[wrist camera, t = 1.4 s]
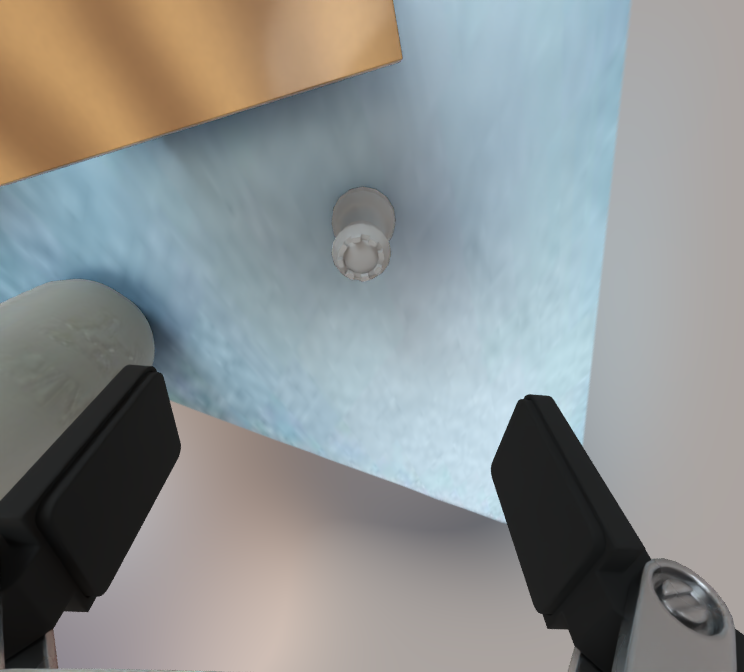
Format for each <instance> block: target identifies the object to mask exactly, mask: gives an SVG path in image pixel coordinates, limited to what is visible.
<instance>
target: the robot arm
mask: <svg viewBox="0 0 744 672" xmlns="http://www.w3.org/2000/svg"><path fill="white" fill-rule="evenodd" d="M180 450H181V443H180V439H179V435H178V431H177V428H176V424H175V420H174V416H173V412H172V408H171V404H170V400H169V396H168V393H167V389H166V385H165V381H164V377H163V375H162V374H161V373H159V372H157V370H156V369H155V368H154V367H153V366H143V365H130V364H129V365H126V366H125V367H124V368H123V369H122V370H121V371H120V372H119V373H118V374H117V375H116V376H115V377H114V378H113V379H112V380H111V381H110V383H109V384H108V385H107V386H106V387H105V388H104V389H103V390H102V391H101V392H100V393H99V394H98V396H97V397H96V398H95V399H94V400H93V401H92V402H91V403H90V404H89V405H88V406H87V407H86V409H85V410H84V411H83V412H82V413H81V414H80V415H79V416H78V417H77V418H76V419H75V420H74V422H73V423H72V424H71V425H70V426H69V427H68V428H67V429H66V430H65V431H64V432H63V433H62V434H61V436H60V437H59V438H58V439H57V440H56V441H55V442H54V443H53V444H52V445H51V446H50V447H49V449H48V450H47V451H46V452H45V453H44V454H43V455H42V456H41V457H40V458H39V459H38V460H37V462H36V463H35V464H34V465H33V466H32V467H31V468H30V469H29V470H28V471H27V472H26V473H25V475H24V476H23V477H22V478H21V479H20V480H19V481H18V482H17V483H16V484H15V485H14V486H13V488H12V489H11V490H10V491H9V492H8V493H7V494H6V495H5V496H4V497H3V498H2V499H1V500H0V672H217V671H176V670H172V671H171V670H130V669H58V662H57V655H56V646H55V639H54V631H53V628H54V627H55V625H56V623H57V622H58V620H59V618H60V617H61V615H62V613H63V612H64V611H72V612H88V611H89V610H90V608H91V606H92V604H93V602H94V601H95V599H96V597H97V596H102V595H103V594H104V593H105V592H106V591H107V589H108V587H109V586H110V584H111V582H112V580H113V579H114V577H115V575H116V573H117V571H118V569H119V567H120V566H121V564H122V562H123V560H124V558H125V556H126V554H127V552H128V551H129V549H130V547H131V545H132V543H133V541H134V539H135V537H136V536H137V534H138V532H139V530H140V528H141V526H142V525H143V523H144V521H145V519H146V517H147V515H148V513H149V511H150V510H151V508H152V506H153V504H154V502H155V500H156V498H157V496H158V495H159V493H160V491H161V489H162V487H163V485H164V483H165V482H166V480H167V478H168V476H169V474H170V472H171V470H172V469H173V467H174V465H175V463H176V461H177V459H178V457H179V454H180ZM491 475H492V479H493V482H494V485H495V488H496V491H497V494H498V497H499V500H500V503H501V507H502V510H503V513H504V516H505V519H506V522H507V525H508V528H509V531H510V534H511V537H512V540H513V543H514V546H515V550H516V552H517V556H518V559H519V562H520V565H521V568H522V571H523V574H524V577H525V580H526V583H527V586H528V589H529V592H530V596H531V598H532V602H533V604H534V607H535V608H536V610H537V612H538V613H540V614H543V617H544V620H545V622H546V626H547V628H548V629H568V630H569V632H570V635H571V637H572V640H573V643H574V646H575V647H574V651H573V654H572V658H571V661H570V665H569V669H568V672H744V635H743V634H742V633H740V632H739V631H738V630H736V629H735V627H734V623H733V618H732V615H731V614H730V612H729V610H728V608H727V606H726V604H725V602H724V601H723V600H722V599H721V597H720V596H719V595H718V593H717V592H716V591H715V590H714V589H713V588H712V587H711V586H710V585H709V584H708V583H707V582H706V581H705V580H704V579H703V578H701V577H700V576H699V575H698V574H696V573H695V572H693V571H692V570H691V569H689V568H687V567H685V566H683V565H681V564H679V563H677V562H675V561H672V560H668V559H664V558H661V559H652V560H651V558H650V556H649V555H648V553H647V552H646V550H645V547H644V546H643V544H642V542H641V541H640V539H639V537H638V536H637V534H636V533H635V531H634V529H633V528H632V526H631V524H630V523H629V521H628V520H627V518H626V516H625V515H624V513H623V511H622V510H621V508H620V507H619V505H618V503H617V502H616V500H615V498H614V497H613V495H612V494H611V492H610V491H609V489H608V487H607V486H606V484H605V482H604V481H603V479H602V477H601V476H600V474H599V473H598V471H597V469H596V468H595V466H594V465H593V463H592V461H591V460H590V458H589V456H588V455H587V453H586V451H585V450H584V448H583V447H582V445H581V443H580V442H579V440H578V439H577V437H576V435H575V434H574V432H573V430H572V429H571V427H570V426H569V424H568V422H567V421H566V419H565V417H564V416H563V414H562V413H561V411H560V409H559V408H558V406H557V404H556V403H555V401H554V400H553V399H552V397H550V396H544V395H531V394H529V395H526V396H525V397H524V399H520V400H519V401H518V402H517V404H516V407H515V409H514V412H513V414H512V416H511V419H510V421H509V424H508V426H507V428H506V431H505V433H504V436H503V438H502V440H501V443H500V445H499V447H498V450H497V452H496V455H495V457H494V459H493V462H492V465H491Z"/></svg>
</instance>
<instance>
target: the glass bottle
mask: <svg viewBox="0 0 744 672" xmlns="http://www.w3.org/2000/svg"><path fill="white" fill-rule="evenodd" d="M154 354H155V346H154V339H153V334H152V331H151V328H150V325H149V323H148V321H147V319H146V318H145V316H144V315H143V313H142V312H141V311H140V310H139V308H138V307H137V306H136V305H135V304H134V303H132V302H131V301H130V300H129V299H127V298H126V297H124V296H123V295H122V294H120V293H119V292H117V291H115V290H114V289H112V288H110V287H108V286H106V285H104V284H101V283H98V282H95V281H91V280H85V279H69V280H60V281H51V282H48V283H45V284H43V285H40V286H37V287H35V288H33V289H31V290H29V291H26V292H23V293H21V294H19V295H18V296H16V297H13V298H10V299H8V300H7V301H5V302H3V303H0V500H1V499H2V498H3V497H4V496H5V495H6V494H7V493H8V492H9V491H10V490H11V489H12V488H13V486H14V485H15V484H16V483H17V482H18V481H19V480H20V479H21V478H22V477H23V476H24V475H25V473H26V472H27V471H28V470H29V469H30V468H31V467H32V466H33V465H34V464H35V463H36V462H37V460H38V459H39V458H40V457H41V456H42V455H43V454H44V453H45V452H46V451H47V450H48V449H49V447H50V446H51V445H52V444H53V443H54V442H55V441H56V440H57V439H58V438H59V437H60V436H61V434H62V433H63V432H64V431H65V430H66V429H67V428H68V427H69V426H70V425H71V424H72V423H73V422H74V420H75V419H76V418H77V417H78V416H79V415H80V414H81V413H82V412H83V411H84V410H85V409H86V407H87V406H88V405H89V404H90V403H91V402H92V401H93V400H94V399H95V398H96V397H97V396H98V394H99V393H100V392H101V391H102V390H103V389H104V388H105V387H106V386H107V385H108V384H109V383H110V381H111V380H112V379H113V378H114V377H115V376H116V375H117V374H118V373H119V372H120V371H121V370H122V369H123V368H124V367H125V366H126V365H129V364H130V365H143V366H152V365H153V361H154Z"/></svg>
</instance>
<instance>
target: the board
mask: <svg viewBox="0 0 744 672" xmlns="http://www.w3.org/2000/svg"><path fill="white" fill-rule="evenodd" d="M402 58H403V57H402V51H401V45H400V39H399V34H398V28H397V22H396V16H395V10H394V4H393V0H0V187H1V186H5V185H9V184H12V183H16V182H19V181H22V180H25V179H28V178H32V177H35V176H38V175H41V174H44V173H48V172H51V171H54V170H57V169H60V168H64V167H67V166H70V165H73V164H76V163H79V162H83V161H86V160H89V159H92V158H95V157H99V156H102V155H105V154H108V153H111V152H115V151H118V150H121V149H124V148H127V147H131V146H134V145H137V144H140V143H143V142H147V141H150V140H153V139H156V138H159V137H163V136H166V135H169V134H172V133H175V132H178V131H182V130H185V129H188V128H191V127H194V126H198V125H201V124H204V123H207V122H210V121H214V120H217V119H220V118H223V117H226V116H230V115H233V114H236V113H239V112H242V111H246V110H249V109H252V108H255V107H258V106H262V105H265V104H268V103H271V102H274V101H277V100H281V99H284V98H287V97H290V96H293V95H297V94H300V93H303V92H306V91H309V90H313V89H316V88H319V87H322V86H325V85H329V84H332V83H335V82H338V81H341V80H345V79H348V78H351V77H354V76H357V75H361V74H364V73H367V72H370V71H373V70H377V69H380V68H383V67H386V66H389V65H392V64H396V63H399V62H400V61H401V60H402Z"/></svg>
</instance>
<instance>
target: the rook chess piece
mask: <svg viewBox="0 0 744 672" xmlns="http://www.w3.org/2000/svg"><path fill="white" fill-rule="evenodd" d="M394 227H395V214H394V208H393V206H392V205H391V203H390V202H389V200H388V198H387V197H386V196H385V195H383V194H382V193H380V192H379V191H378V190H376V189H372V188H367V187H359V188H355V189H350V190H349V191H348V192H346V193H345V194H343V195H342V196H341V197H340V198H339V199H338V201H337V203H336V205H335V206H334V208H333V215H332V228H333V232H334V235H335V237H336V239H335V240H334V242H333V247H332V257H333V261H334V264H335V266H336V267H337V268H338V270H339V271H340V272H341V273H342V274H343V275H345V276H346V277H348V278H349V279H351V280H353V279H354V280H359V281H361V282H364V281H369V280H370V279H373V278H375V277H377V276H378V275H380V274H382V273H383V271H384V270H385V269H386V267H387V266H388V264H389V260H390V256H391V250H390V245H389V240H390V239H391V237H392V235H393V231H394Z"/></svg>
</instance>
